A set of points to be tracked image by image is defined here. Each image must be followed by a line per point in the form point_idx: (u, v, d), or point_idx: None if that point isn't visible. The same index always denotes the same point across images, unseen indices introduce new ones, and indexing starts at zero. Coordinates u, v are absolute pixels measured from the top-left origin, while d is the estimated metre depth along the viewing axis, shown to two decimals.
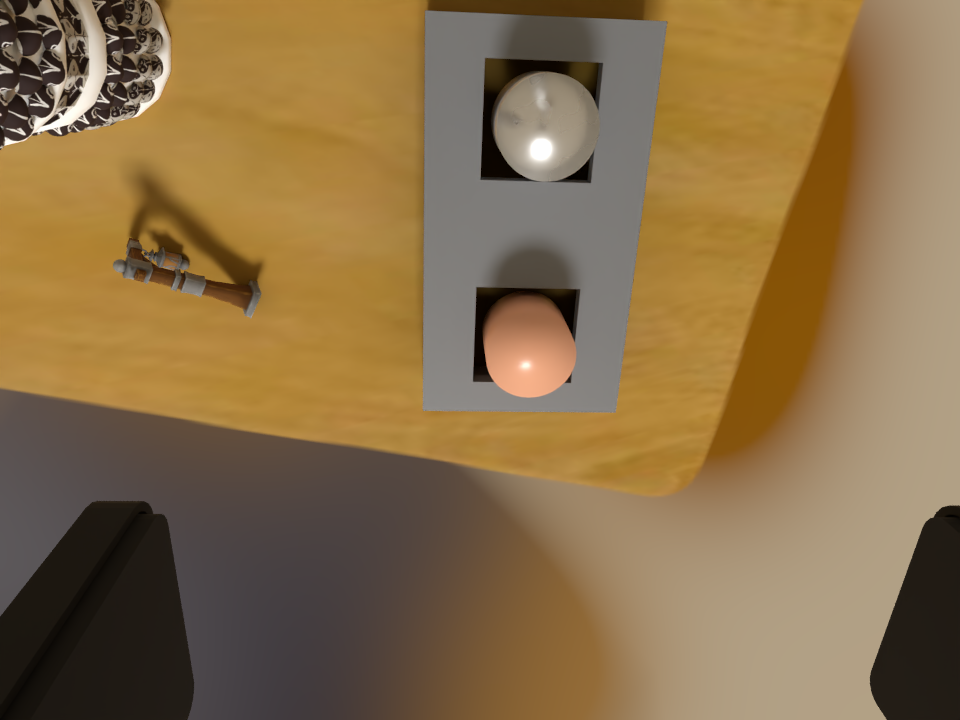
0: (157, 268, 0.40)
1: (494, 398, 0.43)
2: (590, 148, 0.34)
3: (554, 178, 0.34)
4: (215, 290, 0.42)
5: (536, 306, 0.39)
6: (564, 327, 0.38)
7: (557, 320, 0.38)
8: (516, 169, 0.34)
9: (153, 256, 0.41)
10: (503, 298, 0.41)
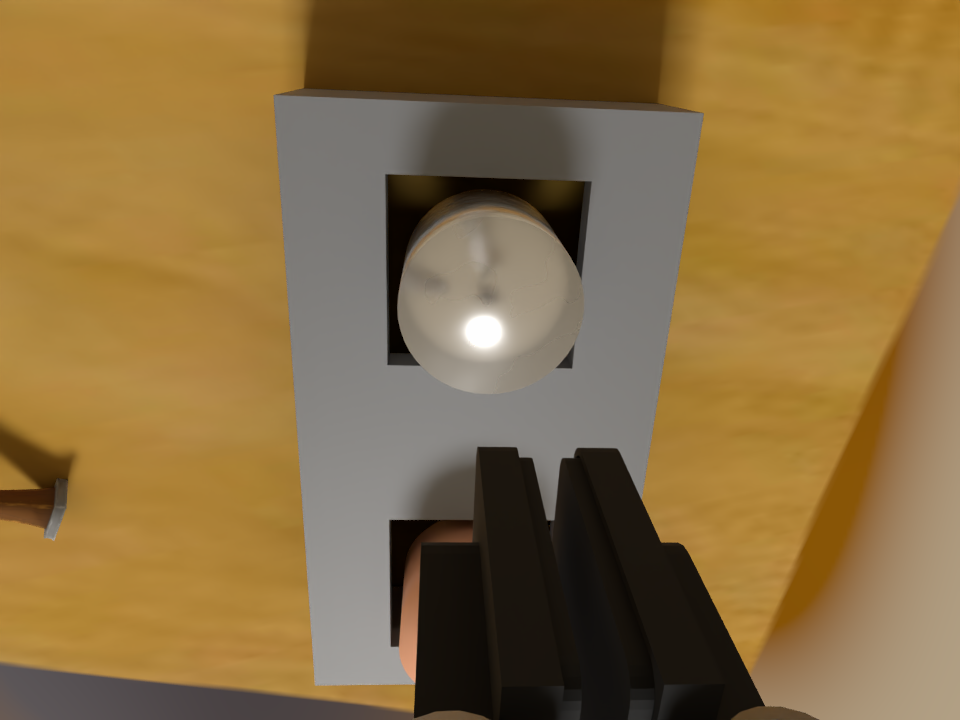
0: None
1: None
2: (567, 341, 0.19)
3: (504, 388, 0.20)
4: None
5: None
6: None
7: None
8: (436, 375, 0.19)
9: None
10: (435, 528, 0.26)
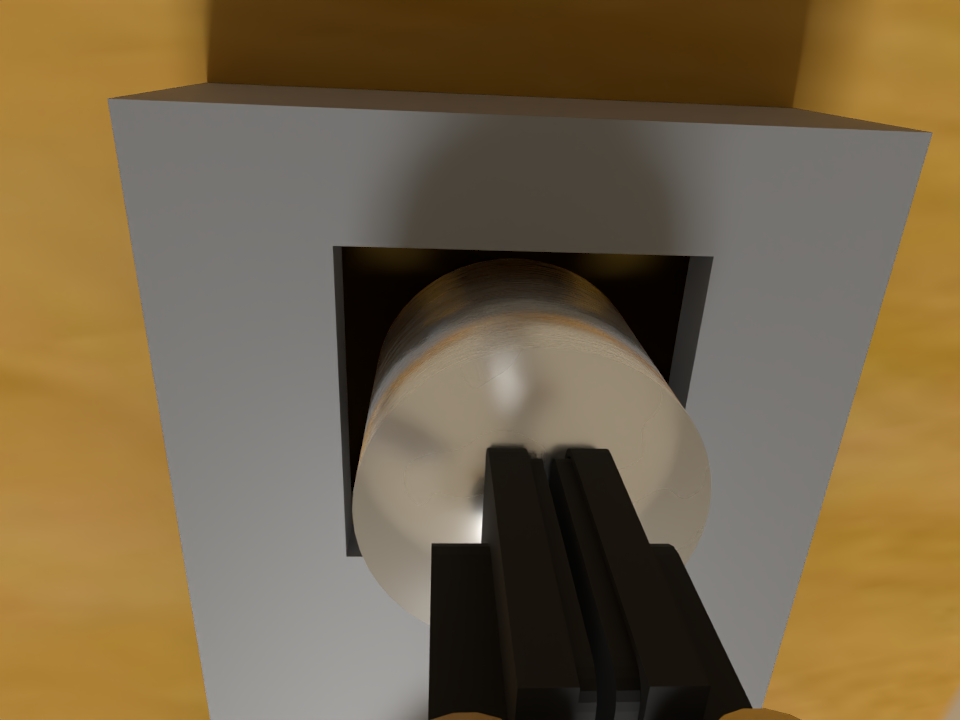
0: None
1: None
2: None
3: None
4: None
5: None
6: None
7: None
8: (429, 619, 0.10)
9: None
10: None
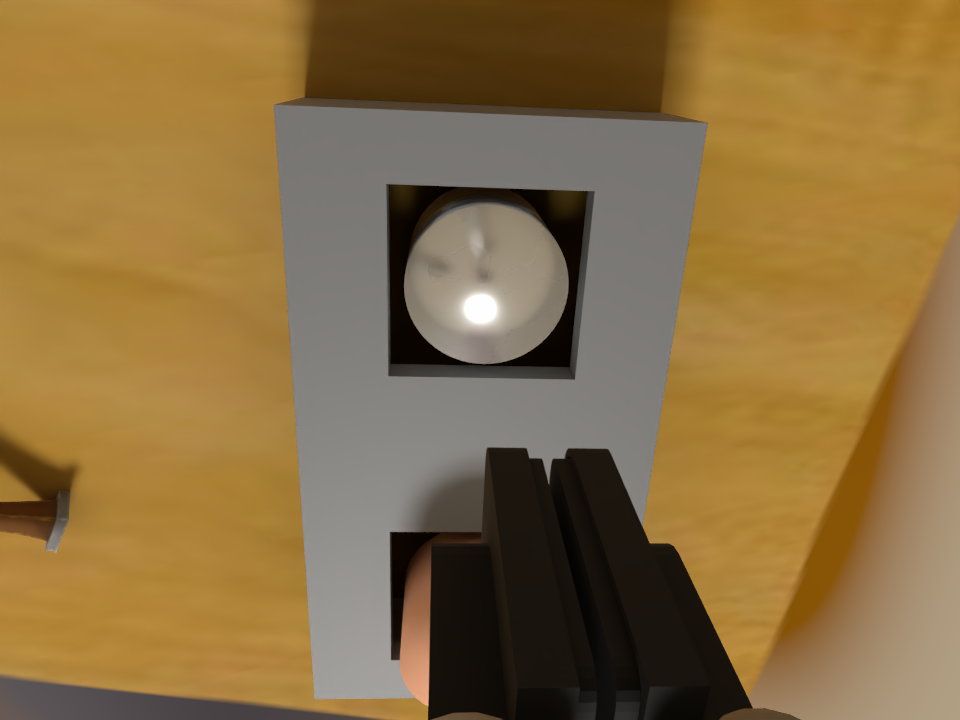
0: None
1: None
2: (554, 316, 0.22)
3: (498, 359, 0.22)
4: None
5: None
6: None
7: None
8: (438, 346, 0.22)
9: None
10: (436, 540, 0.26)
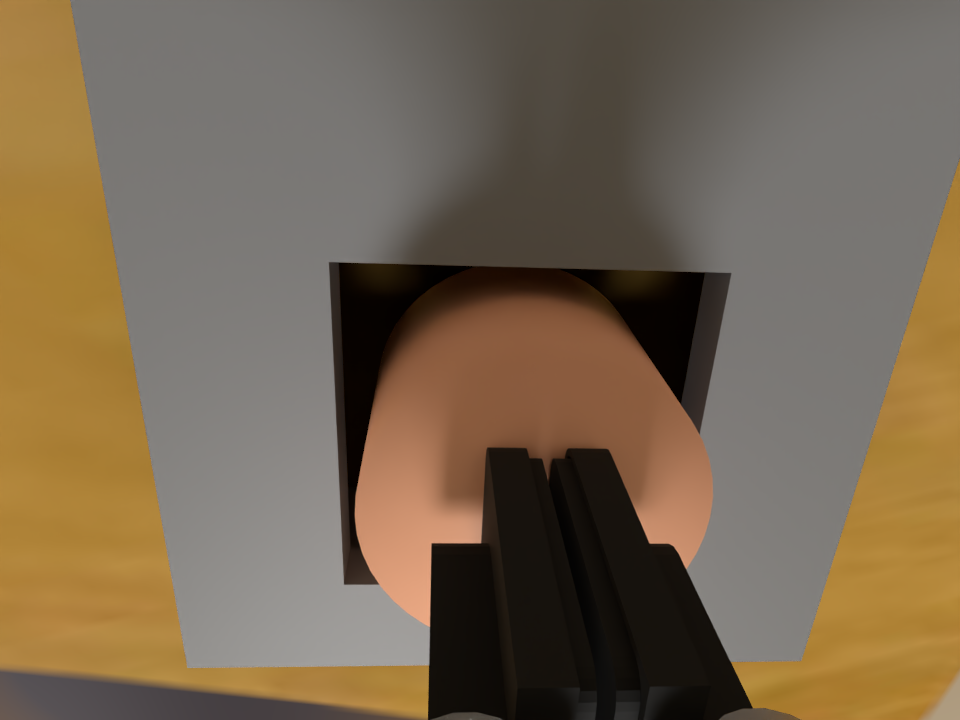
0: None
1: (419, 630, 0.13)
2: None
3: None
4: None
5: (556, 315, 0.10)
6: (673, 404, 0.09)
7: (645, 375, 0.09)
8: None
9: None
10: (442, 287, 0.12)
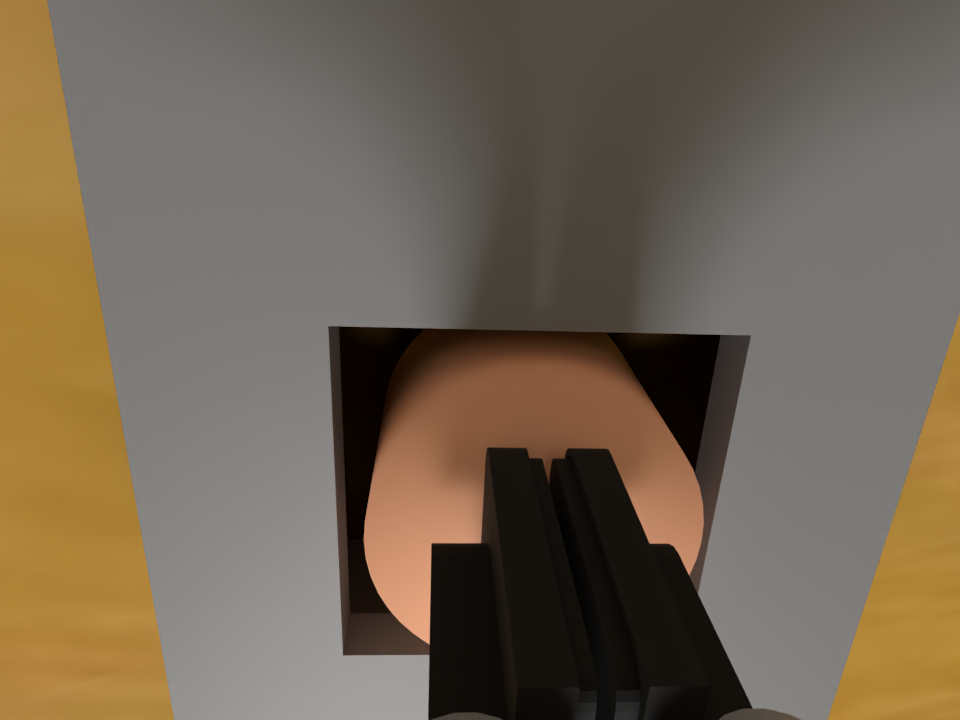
0: None
1: (422, 702, 0.12)
2: None
3: None
4: None
5: (555, 350, 0.11)
6: (665, 435, 0.10)
7: (638, 408, 0.10)
8: None
9: None
10: None
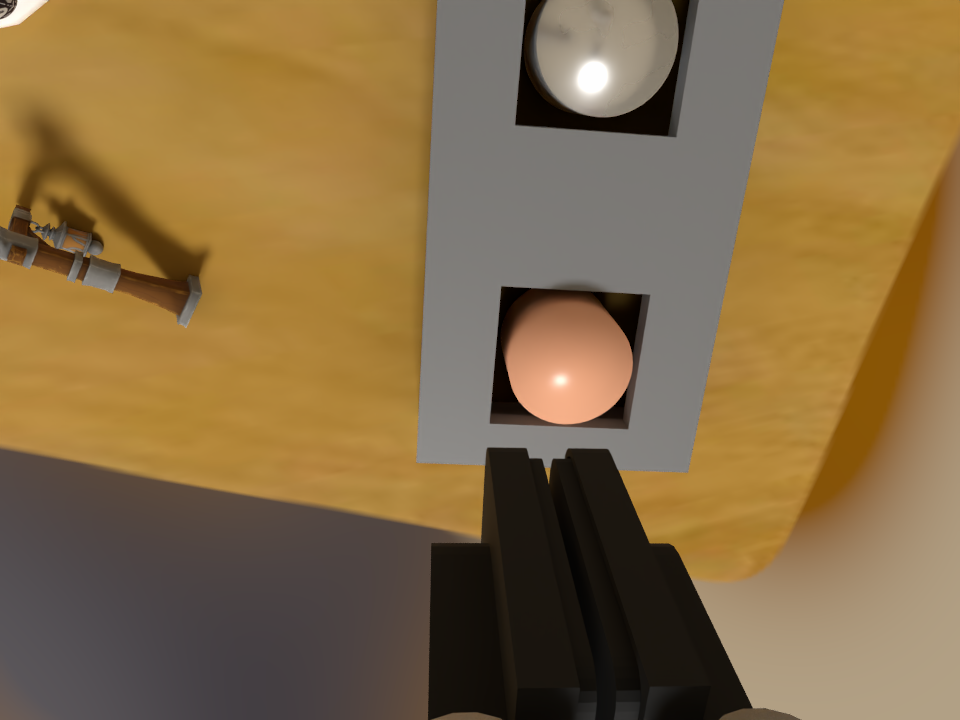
0: (47, 247, 0.27)
1: None
2: (663, 72, 0.25)
3: (612, 113, 0.25)
4: (134, 285, 0.29)
5: (579, 299, 0.28)
6: (618, 328, 0.27)
7: (609, 318, 0.27)
8: (561, 98, 0.25)
9: (48, 232, 0.29)
10: (531, 290, 0.30)
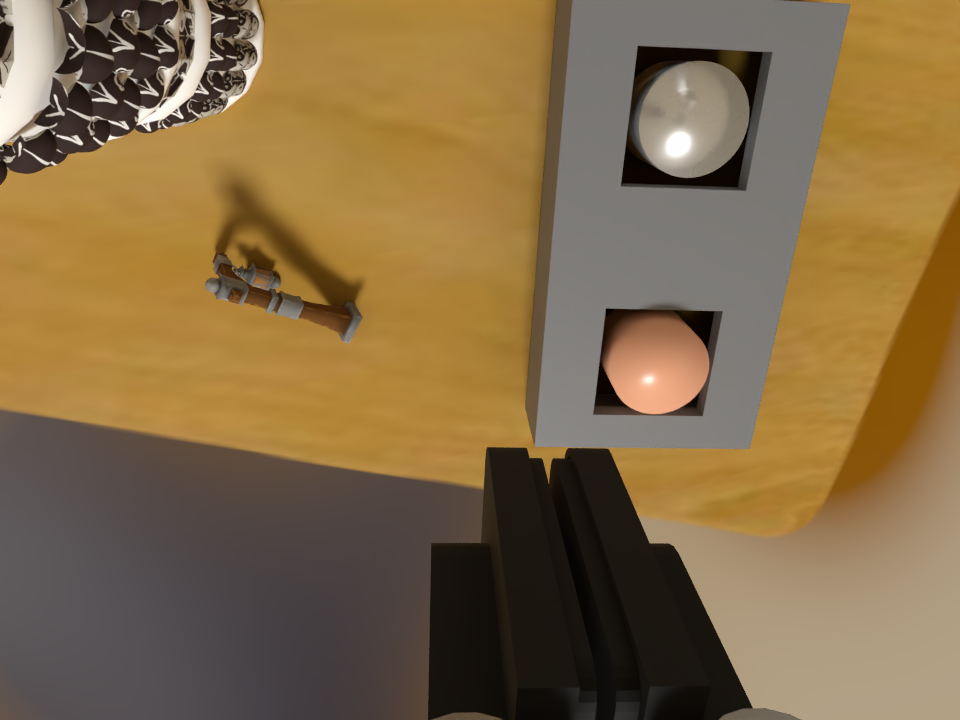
0: (252, 288, 0.35)
1: (615, 433, 0.38)
2: (737, 142, 0.32)
3: (696, 174, 0.32)
4: (312, 313, 0.37)
5: (665, 315, 0.36)
6: (698, 338, 0.35)
7: (691, 331, 0.35)
8: (657, 164, 0.32)
9: (243, 273, 0.37)
10: None
